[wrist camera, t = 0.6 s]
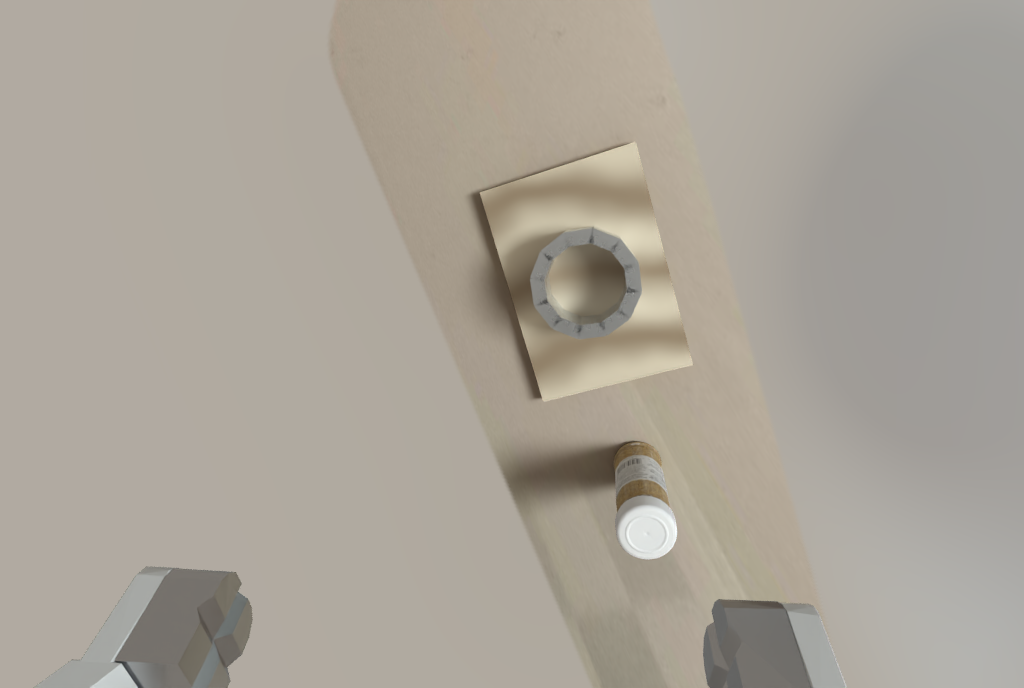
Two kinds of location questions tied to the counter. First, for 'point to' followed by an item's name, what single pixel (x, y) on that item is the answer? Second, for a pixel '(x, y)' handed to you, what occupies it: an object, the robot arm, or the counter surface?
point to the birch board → (588, 271)
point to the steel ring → (594, 323)
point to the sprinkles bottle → (642, 503)
